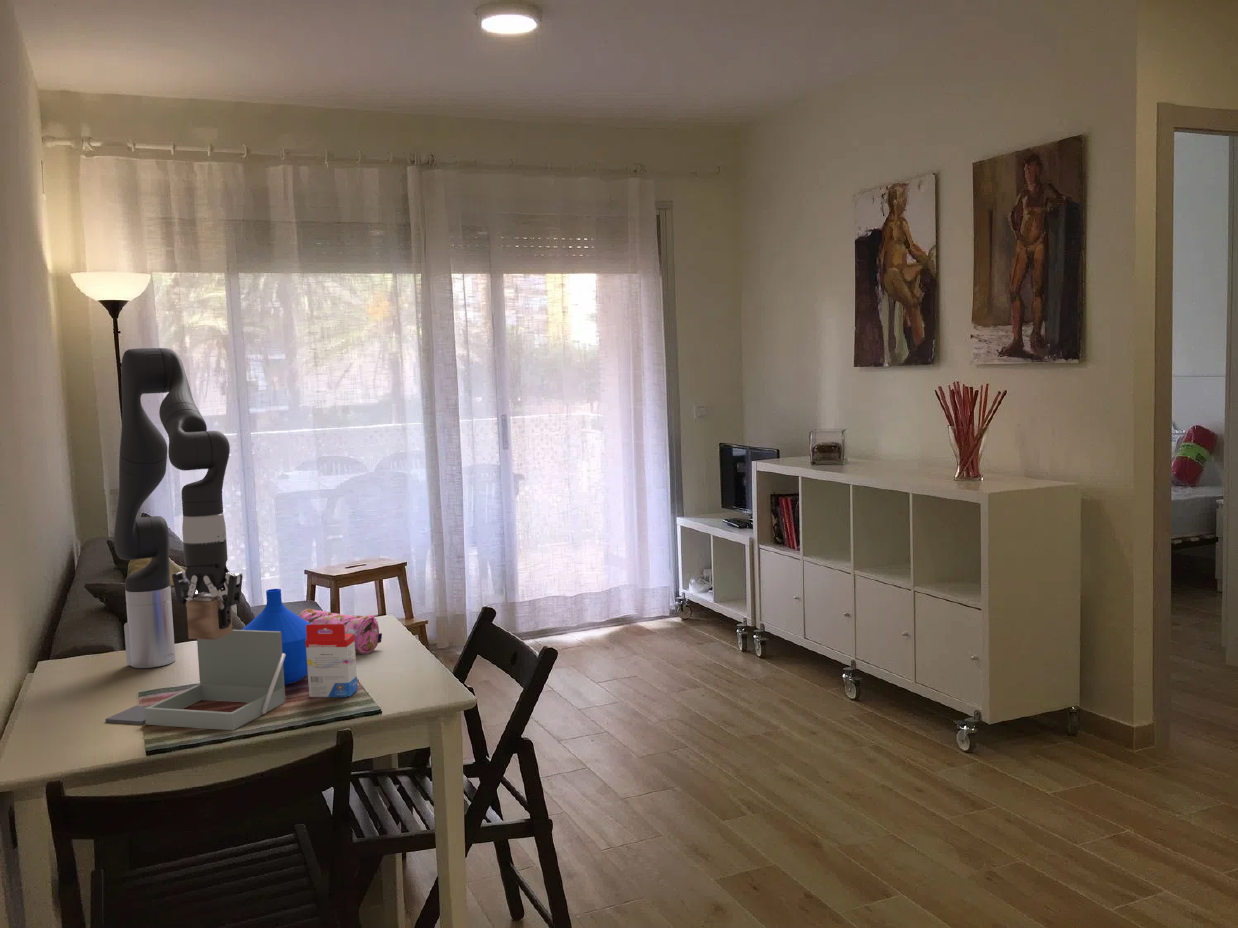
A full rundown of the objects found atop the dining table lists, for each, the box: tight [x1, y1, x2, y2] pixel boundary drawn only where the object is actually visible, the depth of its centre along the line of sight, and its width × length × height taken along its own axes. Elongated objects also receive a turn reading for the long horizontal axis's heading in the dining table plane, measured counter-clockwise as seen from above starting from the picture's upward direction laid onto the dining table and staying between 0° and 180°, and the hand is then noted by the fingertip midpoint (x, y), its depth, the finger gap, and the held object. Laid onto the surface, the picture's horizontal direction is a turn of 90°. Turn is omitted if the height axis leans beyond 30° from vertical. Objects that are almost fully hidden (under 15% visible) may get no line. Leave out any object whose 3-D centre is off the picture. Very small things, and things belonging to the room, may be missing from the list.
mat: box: [104, 705, 150, 725], centre depth 194 cm, size 8×8×1 cm
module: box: [186, 593, 234, 640], centre depth 192 cm, size 6×6×8 cm
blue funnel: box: [241, 588, 320, 685], centre depth 214 cm, size 18×18×19 cm
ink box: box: [305, 624, 359, 698], centre depth 203 cm, size 8×5×15 cm, turn 84°
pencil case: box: [297, 608, 383, 655], centre depth 239 cm, size 21×9×9 cm, turn 63°
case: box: [145, 629, 286, 731], centre depth 193 cm, size 19×16×14 cm
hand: (210, 626), depth 192 cm, fingers closed on module, 5 cm apart
